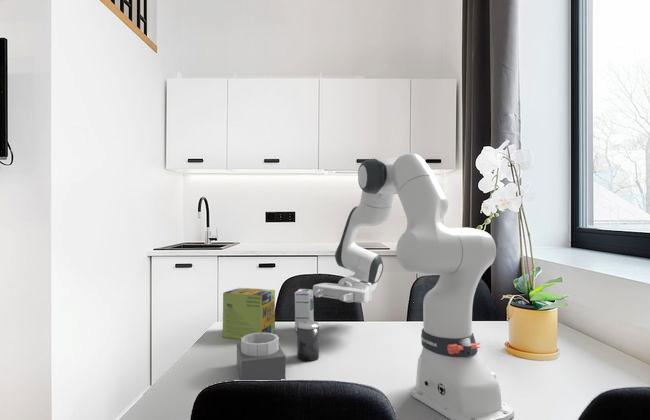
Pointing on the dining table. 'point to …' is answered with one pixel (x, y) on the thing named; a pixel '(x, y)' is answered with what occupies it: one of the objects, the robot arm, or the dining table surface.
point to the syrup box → (303, 306)
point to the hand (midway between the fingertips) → (329, 296)
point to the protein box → (248, 312)
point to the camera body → (260, 357)
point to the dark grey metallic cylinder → (308, 341)
